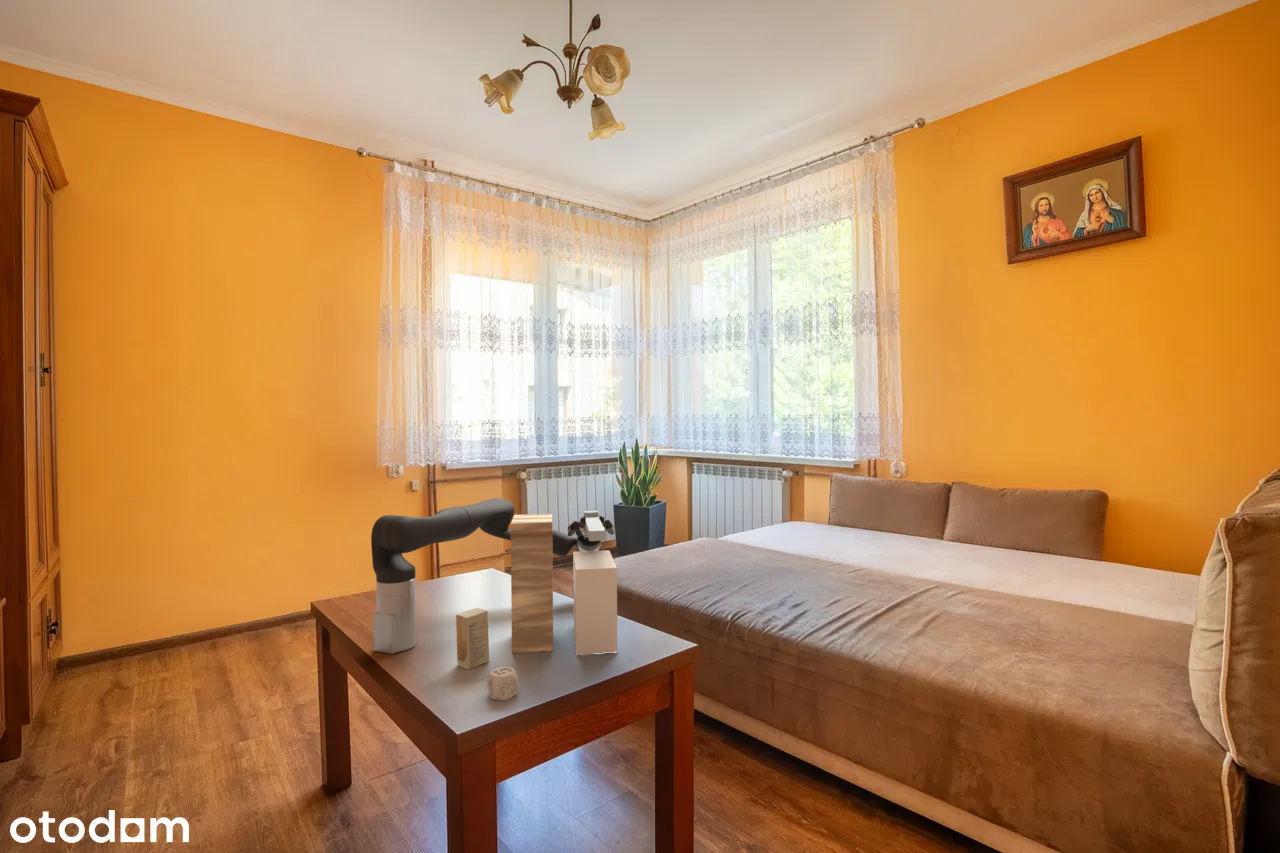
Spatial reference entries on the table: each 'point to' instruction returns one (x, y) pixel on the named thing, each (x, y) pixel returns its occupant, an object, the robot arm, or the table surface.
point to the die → (502, 683)
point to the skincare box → (472, 638)
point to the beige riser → (595, 602)
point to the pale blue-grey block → (594, 526)
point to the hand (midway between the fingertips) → (592, 519)
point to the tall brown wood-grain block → (532, 583)
